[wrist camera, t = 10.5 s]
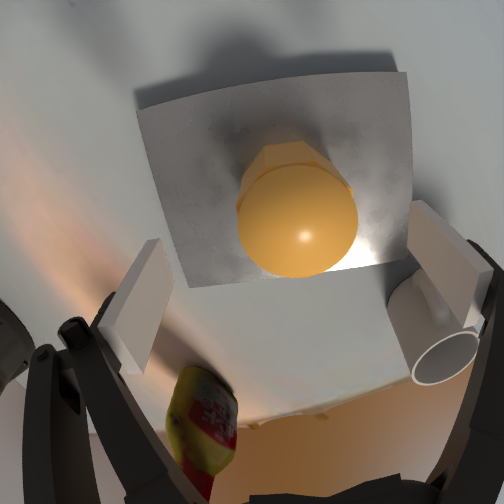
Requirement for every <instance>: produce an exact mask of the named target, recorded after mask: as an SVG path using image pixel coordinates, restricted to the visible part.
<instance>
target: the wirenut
mask: <svg viewBox="0 0 504 504" xmlns="http://www.w3.org/2000/svg"><path fill="white" fill-rule="evenodd" d="M236 211H237V215H238V234H239V238H240V241H241V244H242V246H243V248H244V250H245V252H246V253H247V255H248V256H249V257H250V258H251V259H252V261H254V262H255V263H256V264H257V265H258V266H260V267H261V268H262V269H264V270H266V271H268V272H270V273H273V274H275V275H279V276H282V277H289V278H303V277H309V276H314V275H317V274H320V273H322V272H325V271H327V270H328V269H330V268H332V267H333V266H335V265H336V264H337V263H338V262H340V261H341V260H342V259H343V258H344V257H345V255H346V254H347V253H348V251H349V250H350V248H351V247H352V245H353V243H354V241H355V238H356V235H357V230H358V212H357V208H356V205H355V202H354V200H353V190H352V188H351V187H350V186H349V184H348V183H347V182H346V180H345V179H344V178H343V177H342V175H341V174H340V173H339V171H338V170H337V169H336V168H335V166H334V165H333V164H332V163H331V162H330V161H329V160H328V159H326V158H325V157H324V156H322V155H321V154H320V153H319V152H317V151H316V150H315V149H313V148H312V147H311V146H309V145H308V144H307V143H305V142H304V141H296V142H288V143H281V144H274V145H267V146H264V147H263V149H262V150H261V151H260V153H259V154H258V156H257V157H256V158H255V160H254V161H253V162H252V164H251V165H250V166H249V168H248V169H247V170H246V172H245V173H244V175H243V178H242V182H241V186H240V190H239V194H238V198H237V202H236Z"/></svg>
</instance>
